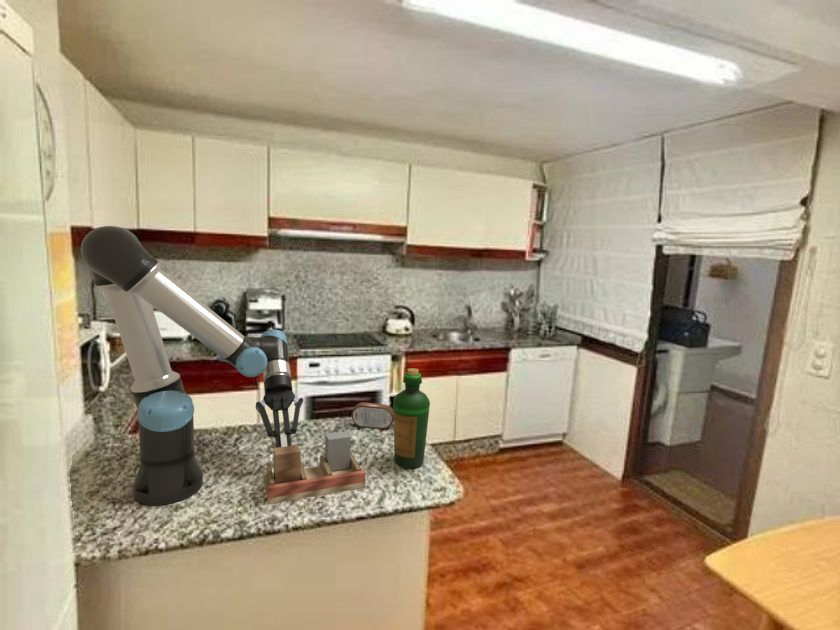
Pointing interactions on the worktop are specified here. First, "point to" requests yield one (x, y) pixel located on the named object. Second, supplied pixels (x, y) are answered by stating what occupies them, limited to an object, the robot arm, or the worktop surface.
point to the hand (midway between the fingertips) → (285, 460)
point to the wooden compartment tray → (314, 482)
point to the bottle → (410, 422)
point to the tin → (373, 415)
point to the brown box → (287, 464)
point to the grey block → (337, 450)
